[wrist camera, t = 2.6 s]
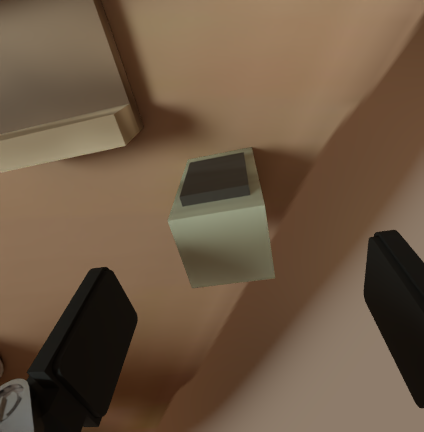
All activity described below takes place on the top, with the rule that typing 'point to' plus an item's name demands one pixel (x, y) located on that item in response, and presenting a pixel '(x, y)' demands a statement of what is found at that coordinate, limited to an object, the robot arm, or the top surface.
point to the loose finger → (222, 221)
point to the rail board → (60, 83)
